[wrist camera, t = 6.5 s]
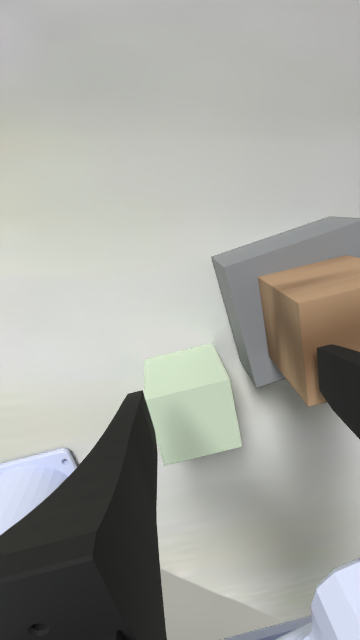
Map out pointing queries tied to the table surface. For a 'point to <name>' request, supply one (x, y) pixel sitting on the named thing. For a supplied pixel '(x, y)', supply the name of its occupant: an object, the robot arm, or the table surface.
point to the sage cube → (190, 404)
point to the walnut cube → (310, 318)
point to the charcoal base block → (266, 258)
